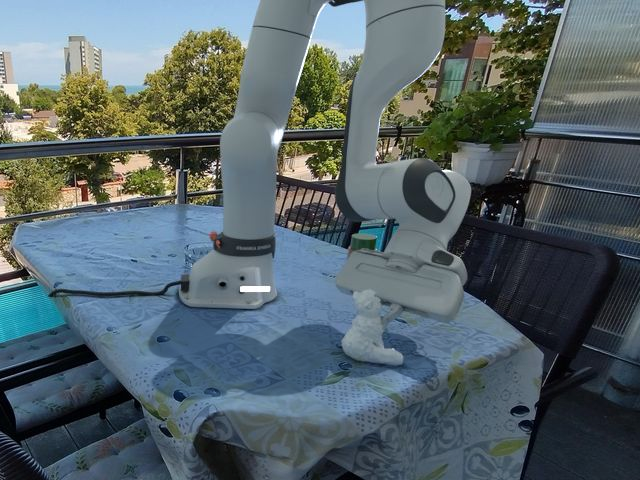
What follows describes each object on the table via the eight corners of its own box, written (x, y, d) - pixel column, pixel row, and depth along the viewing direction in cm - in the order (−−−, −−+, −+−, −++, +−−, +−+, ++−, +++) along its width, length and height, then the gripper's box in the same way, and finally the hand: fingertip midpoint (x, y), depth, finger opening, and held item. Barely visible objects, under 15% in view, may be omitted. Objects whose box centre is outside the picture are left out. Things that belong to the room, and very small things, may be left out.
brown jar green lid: (351, 280, 112) (356, 240, 108) (340, 271, 118) (345, 233, 114) (377, 279, 113) (383, 239, 109) (365, 270, 118) (371, 232, 115)
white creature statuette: (405, 367, 76) (419, 299, 72) (355, 371, 75) (365, 304, 71) (374, 339, 85) (385, 278, 80) (329, 343, 84) (337, 282, 79)
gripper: (350, 237, 86) (315, 301, 85) (473, 261, 71) (433, 339, 70) (360, 255, 90) (327, 315, 89) (478, 281, 76) (441, 354, 74)
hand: (374, 326), depth 79 cm, fingers closed
